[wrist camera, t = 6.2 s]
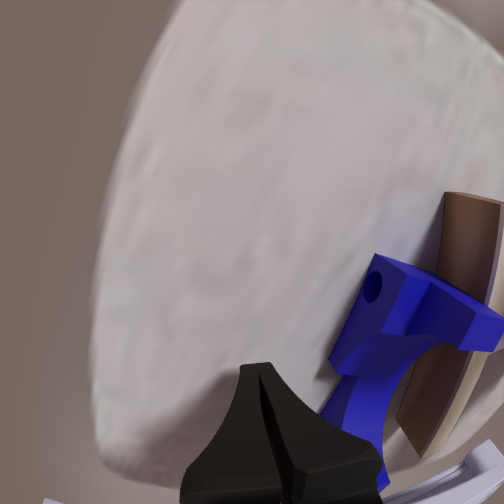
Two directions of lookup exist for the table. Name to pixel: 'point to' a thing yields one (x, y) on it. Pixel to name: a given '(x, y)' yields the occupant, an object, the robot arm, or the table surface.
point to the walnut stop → (445, 354)
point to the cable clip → (398, 341)
